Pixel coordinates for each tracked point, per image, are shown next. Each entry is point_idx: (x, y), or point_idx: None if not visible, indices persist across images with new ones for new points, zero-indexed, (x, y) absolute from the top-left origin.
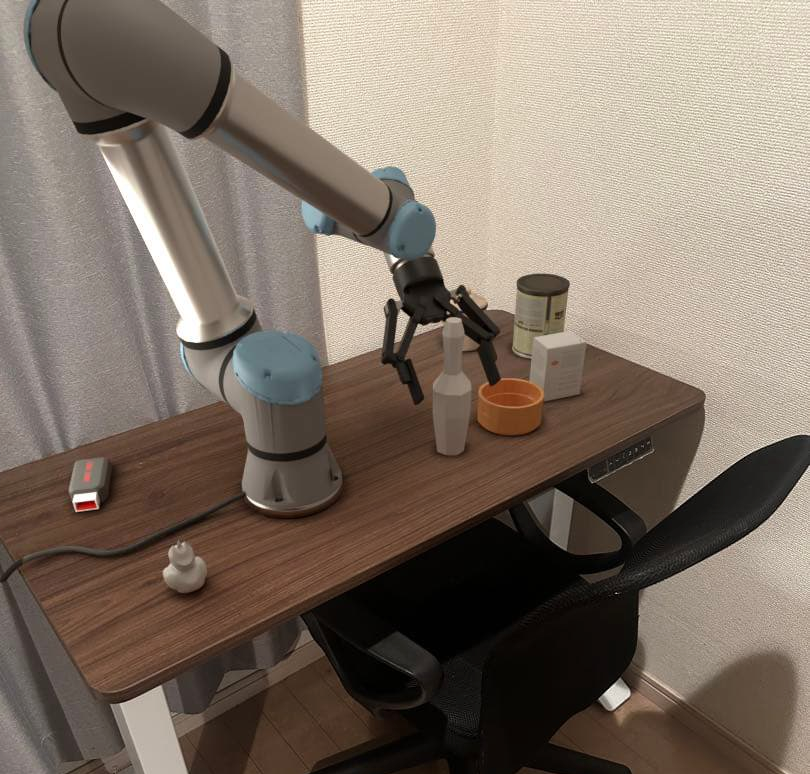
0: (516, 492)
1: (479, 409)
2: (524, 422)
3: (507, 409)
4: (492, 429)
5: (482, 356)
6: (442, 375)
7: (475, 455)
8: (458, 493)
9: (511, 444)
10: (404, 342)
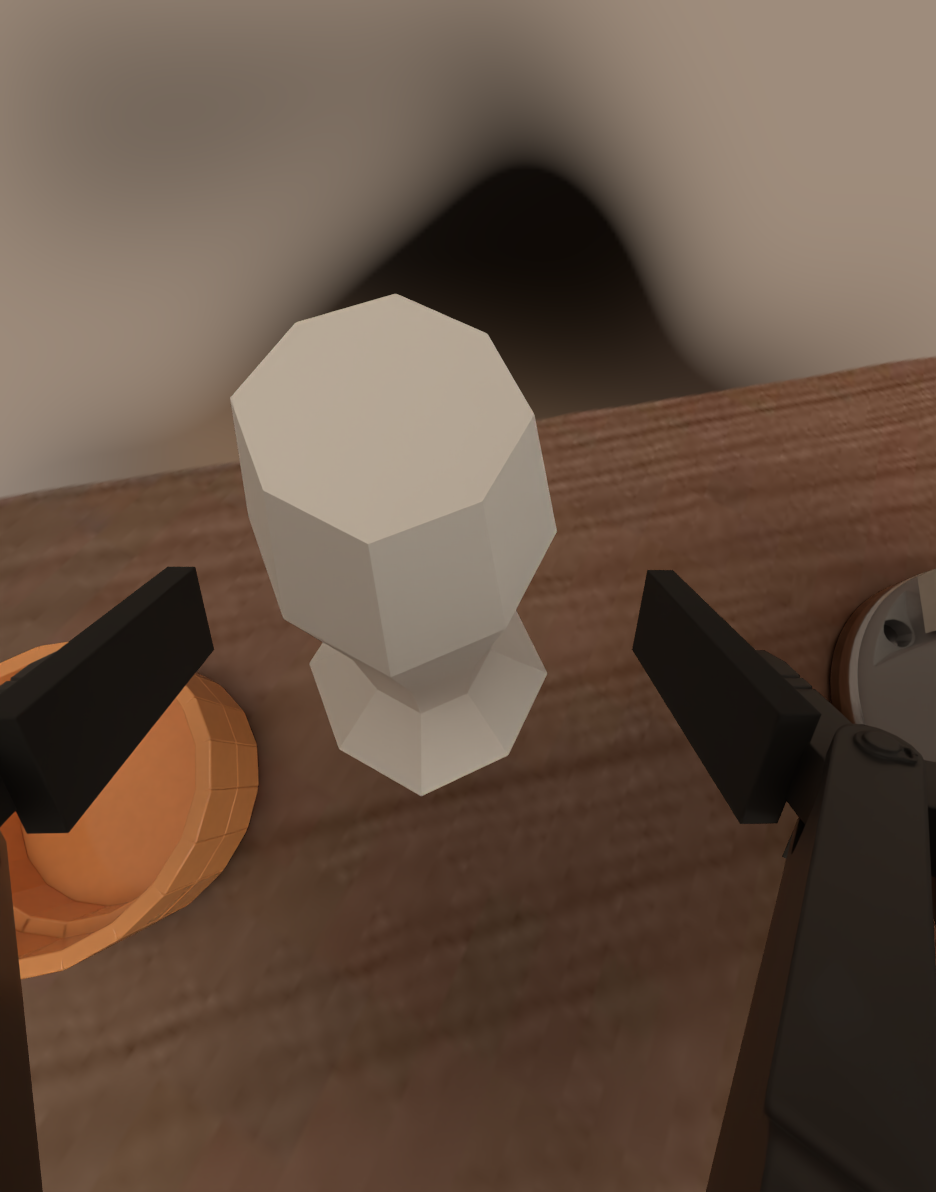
0: None
1: (227, 822)
2: None
3: None
4: (249, 729)
5: (110, 729)
6: (497, 653)
7: None
8: None
9: (246, 642)
10: (900, 857)
